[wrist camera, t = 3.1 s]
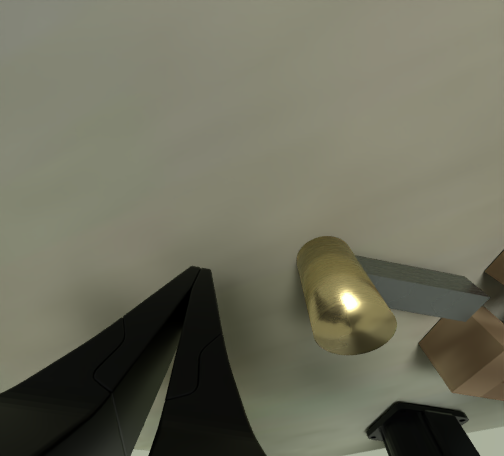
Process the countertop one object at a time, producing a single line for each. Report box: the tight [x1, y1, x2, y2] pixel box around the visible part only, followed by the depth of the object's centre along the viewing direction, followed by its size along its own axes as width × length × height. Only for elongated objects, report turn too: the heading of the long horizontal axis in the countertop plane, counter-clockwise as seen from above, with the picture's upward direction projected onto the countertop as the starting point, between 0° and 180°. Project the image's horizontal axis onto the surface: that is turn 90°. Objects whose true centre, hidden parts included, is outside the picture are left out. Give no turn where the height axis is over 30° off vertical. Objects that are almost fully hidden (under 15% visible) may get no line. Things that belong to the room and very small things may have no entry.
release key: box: [297, 236, 490, 355], centre depth 10 cm, size 3×9×4 cm, turn 79°
